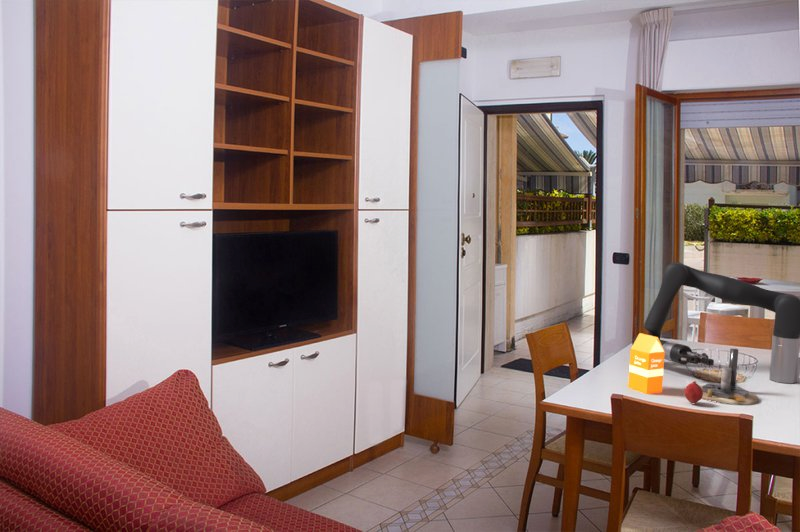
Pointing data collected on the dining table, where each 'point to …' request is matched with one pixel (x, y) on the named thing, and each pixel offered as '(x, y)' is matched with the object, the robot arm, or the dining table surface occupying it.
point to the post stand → (726, 387)
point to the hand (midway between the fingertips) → (712, 362)
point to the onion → (693, 392)
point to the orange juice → (646, 365)
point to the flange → (734, 391)
